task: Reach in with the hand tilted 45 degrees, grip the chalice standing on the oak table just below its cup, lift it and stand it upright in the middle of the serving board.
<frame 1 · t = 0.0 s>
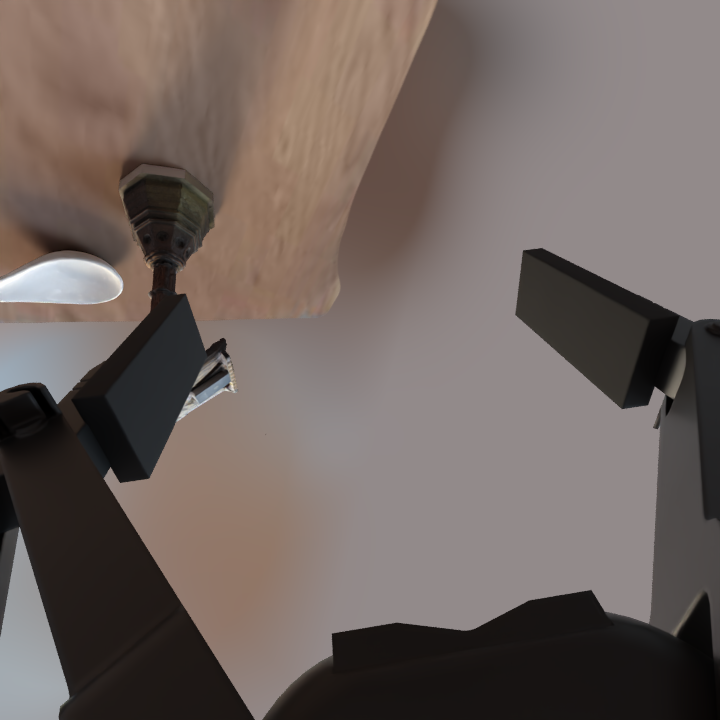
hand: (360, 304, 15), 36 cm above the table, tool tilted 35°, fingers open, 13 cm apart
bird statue: (188, 197, 53), on the table
spoon rest: (34, 257, 58), on the table
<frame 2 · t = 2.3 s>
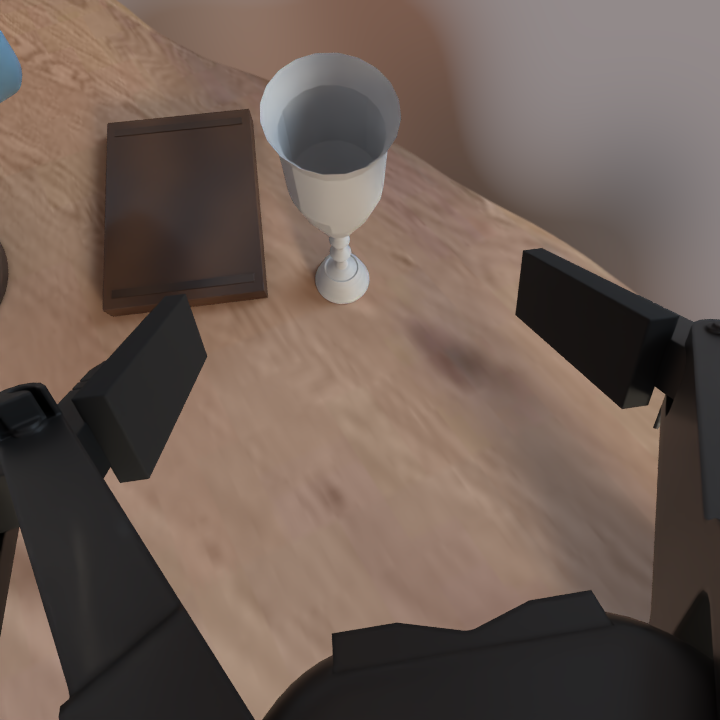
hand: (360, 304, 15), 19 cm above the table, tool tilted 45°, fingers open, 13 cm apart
chalice: (342, 279, 36), on the table
serving board: (187, 211, 38), on the table
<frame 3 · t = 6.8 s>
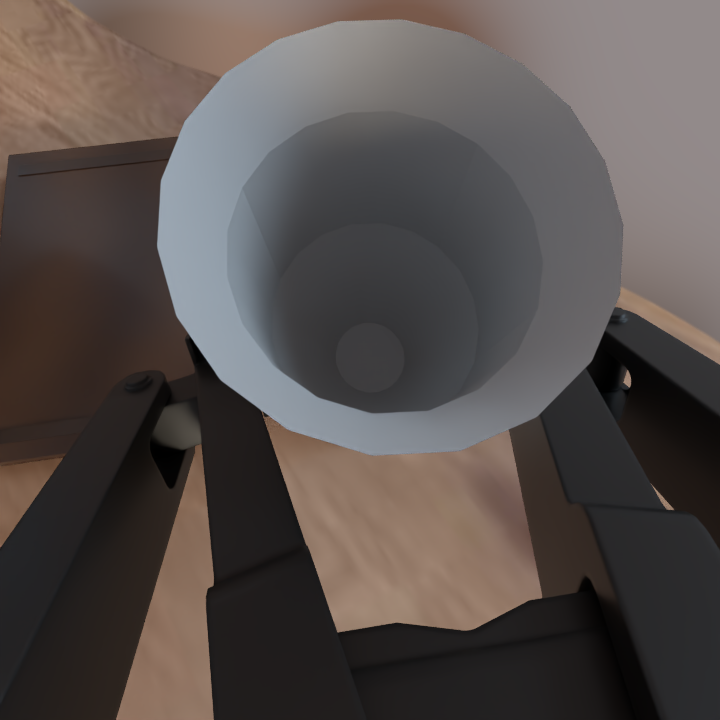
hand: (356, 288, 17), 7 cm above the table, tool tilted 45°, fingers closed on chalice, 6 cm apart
chalice: (365, 397, 23), on the table, touching gripper
serving board: (128, 289, 25), on the table
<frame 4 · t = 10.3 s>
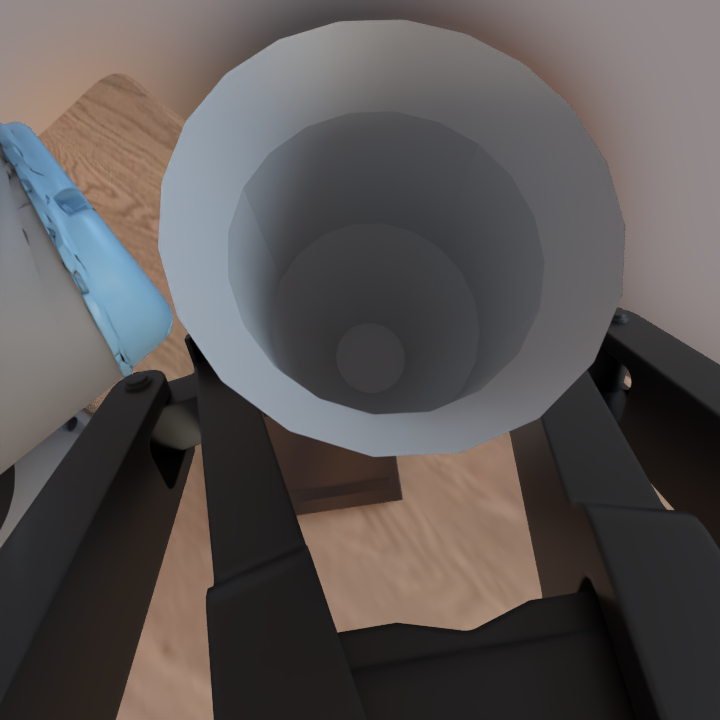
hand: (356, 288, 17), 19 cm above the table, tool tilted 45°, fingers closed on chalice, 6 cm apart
chalice: (365, 397, 23), point 12 cm above the table, touching gripper
serving board: (307, 393, 35), on the table
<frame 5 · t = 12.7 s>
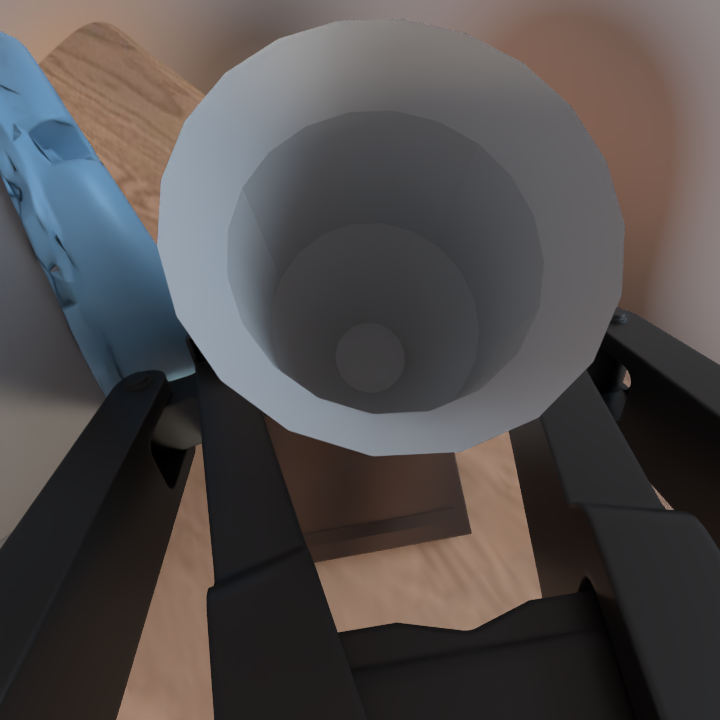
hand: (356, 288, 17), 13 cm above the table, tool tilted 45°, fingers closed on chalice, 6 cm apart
chalice: (365, 397, 23), point 6 cm above the table, touching gripper
serving board: (345, 405, 29), on the table
when the fingers open (9 cm above the table, at t = 14.3 s): chalice stays where it is, resting on serving board.
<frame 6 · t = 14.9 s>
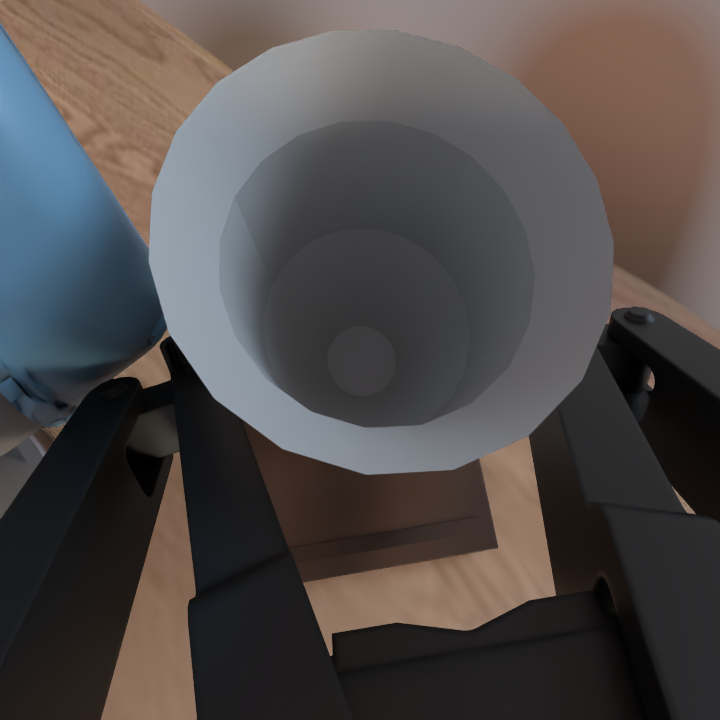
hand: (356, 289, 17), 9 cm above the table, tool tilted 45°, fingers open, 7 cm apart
chalice: (355, 397, 23), point 1 cm above the table, touching serving board
serving board: (348, 393, 25), on the table
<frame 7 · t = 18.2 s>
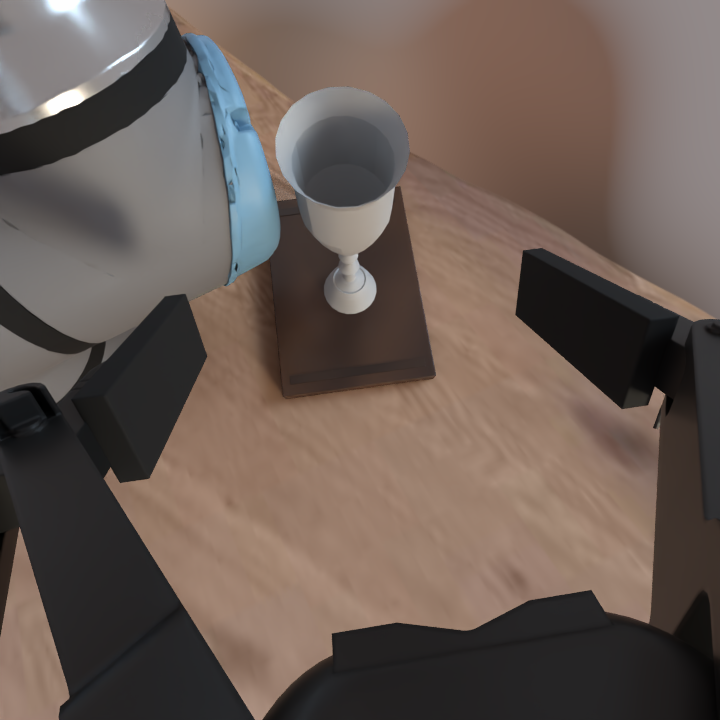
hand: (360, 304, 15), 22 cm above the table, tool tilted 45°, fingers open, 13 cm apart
chalice: (350, 289, 37), point 1 cm above the table, touching serving board
serving board: (346, 290, 39), on the table
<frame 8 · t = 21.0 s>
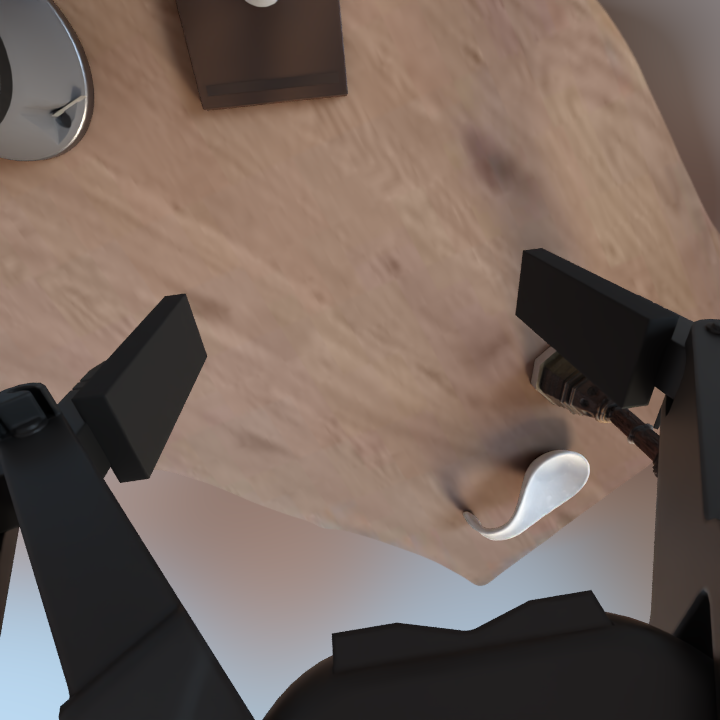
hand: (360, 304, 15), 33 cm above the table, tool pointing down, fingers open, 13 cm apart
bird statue: (577, 353, 58), on the table
spoon rest: (518, 482, 72), on the table
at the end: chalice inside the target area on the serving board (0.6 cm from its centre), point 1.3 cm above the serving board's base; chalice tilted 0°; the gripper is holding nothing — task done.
